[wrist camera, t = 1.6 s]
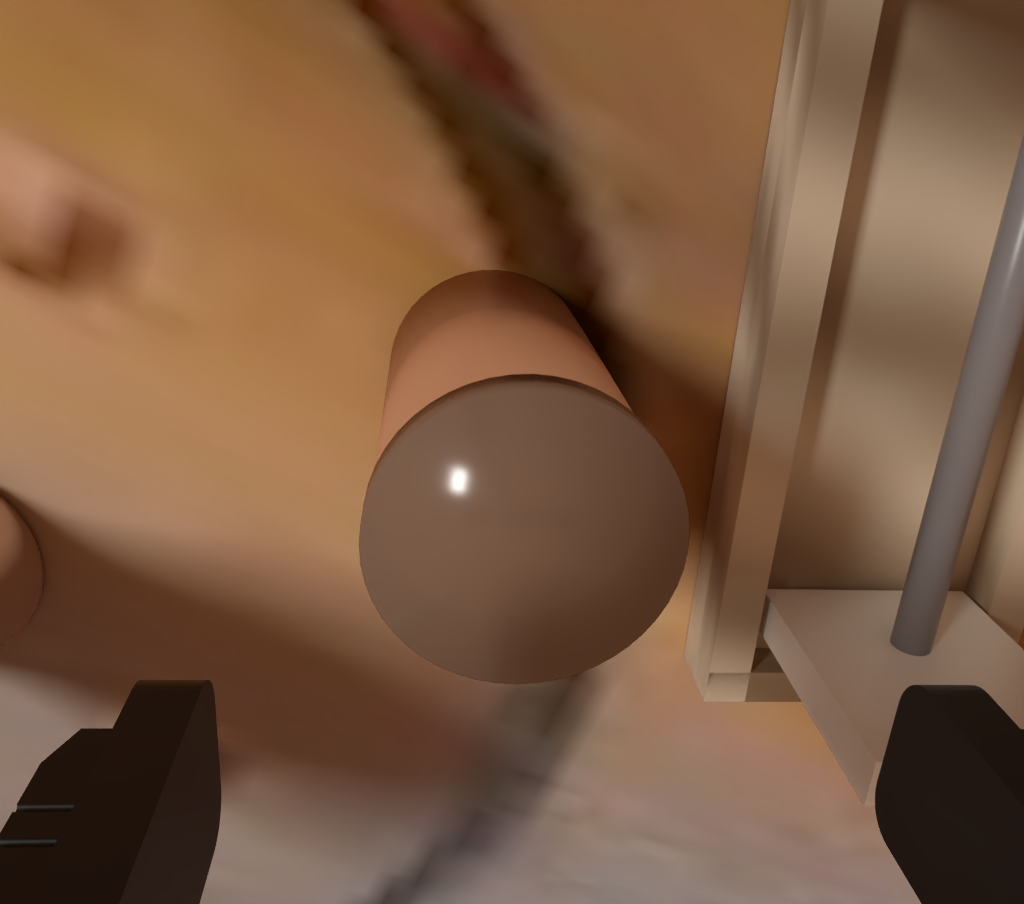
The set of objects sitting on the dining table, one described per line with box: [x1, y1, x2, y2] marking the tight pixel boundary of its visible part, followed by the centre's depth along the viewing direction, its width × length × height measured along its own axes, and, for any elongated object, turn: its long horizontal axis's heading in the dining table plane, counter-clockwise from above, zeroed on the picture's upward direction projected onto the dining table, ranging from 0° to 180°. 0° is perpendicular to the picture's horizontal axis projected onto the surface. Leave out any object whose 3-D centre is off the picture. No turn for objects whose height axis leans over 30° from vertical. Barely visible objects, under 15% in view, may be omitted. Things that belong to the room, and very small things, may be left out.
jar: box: [359, 270, 690, 684], centre depth 19 cm, size 5×5×10 cm
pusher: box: [759, 134, 1024, 806], centre depth 19 cm, size 19×6×7 cm, turn 176°
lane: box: [684, 0, 1024, 702], centre depth 20 cm, size 22×9×10 cm, turn 176°
